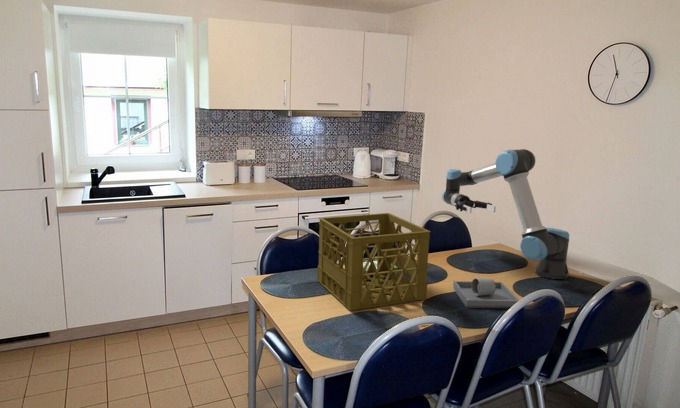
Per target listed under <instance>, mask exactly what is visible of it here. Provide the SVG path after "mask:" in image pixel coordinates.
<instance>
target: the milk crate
mask: <svg viewBox="0 0 680 408" xmlns="http://www.w3.org/2000/svg"><path fill="white" fill-rule="evenodd" d="M318 220H319V222H318V225H319V230H318V231H319V232H318V233H319V234H318V235H319V238H318V265H317V282H318V283H320V284H321V286H322V287H323V288H325V290H327V291H328V292H329V293H330V294H331V295H332V296H333V297H334V298H336V299H337V300H338V301H339V302H340V303H341V304H342V305H343V306H344V307H345V308H347V310H348V311H357V310H358V311H359V310H363V309H370V308H377V307H383V306H389V305H391V306H392V305H395V304H402V303H403V304H404V303H409V302H414V301H415V302H416V301H422V300H426V299H427V293H428V292H427V289H428V282H427V279H428V278H427V277H428V268H429V266H428V262H429V247H430V239H431V236H430V233H431V231H430V230H428V229H426V228H424V227H422V226H419V225H417V224H415V223H412V222H410V221H407V220H406V219H404V218H401V217H399V216H396V215H394V214H392V213H390V212H384V213H381V212H380V213H369V214H368V213H367V214H355V215H354V214H353V215H341V216H339V215H338V216H328V217H326V216H325V217H318ZM371 221H377V222H376V224H375V226H374V228H372V225H371V223H370V222H371ZM356 222H357V223H358V222H359V223H360V222H365V226H363V227H357V228H356V227H354V228H345V225H346V224H347V223H356ZM335 224H339V226H336V225H335ZM396 225H397V226H396ZM368 226H369V228H370V231H371V232H364V231H365V229H367V228H368ZM402 227H403V228H404V229H407V230H410V232H403V230H402ZM341 228H342V229H341ZM377 229H378V231H376V230H377ZM344 230H345V231H344ZM357 230H358V232H359V233H352V231H357ZM332 234H333V235H332ZM376 234H378V235H376ZM365 235H366V236H365ZM367 235H368V236H367ZM354 236H357V237H354ZM338 238H339V239H338ZM413 241H414V243H413ZM372 244H375V245H372ZM394 245H395V247H393V246H394ZM370 248H372V250H371V252H370V250H369V249H370ZM365 254H366V255H367V257H364V256H365ZM376 255H377V256H378V257H377V256H376ZM416 256H417V257H416ZM415 258H416V259H415ZM373 261H377V269H376V267H375V264H374V262H373ZM363 262H367V263H366V265H365V267H364V268H363ZM369 262H370V265H369V267H368V269H367V272H366V273H365V270H366V268H367V266H368V264H369ZM391 263H392V266H391ZM394 266H396V267H398V268H399V269H395V268H394ZM371 275H372V276H371ZM403 276H404V278H403ZM410 276H411V278H410ZM389 279H390V280H389ZM369 281H370V282H369ZM363 285H364V286H363ZM390 290H392V291H390ZM372 292H373V293H377V294H371V293H372ZM387 295H389V296H390V297H389V296H387Z"/></svg>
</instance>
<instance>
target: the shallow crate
mask: <svg viewBox="0 0 680 408" xmlns="http://www.w3.org/2000/svg"><path fill="white" fill-rule="evenodd" d="M472 281H473V280H471V281H470V280H469V281H467V280H464V281H463V280H453V284H452V288H453V290H454V291H455V293H456V294H457V296H458V297H459V299H460V300H461V302H462V303H463V304H464V306H465V307H466V308H471V309H472V308H473V309H474V308H475V309H477V308H478V309H479V308H481V309H482V308H483V309H510V308H509V307H511V306H512V305H513V304H515V303H516V302H517V301H519V300H520V299H519V298H518V297H517V296H516V295H515V294H514V293H513V291H511V290H510V289H509V287H508V286H506V285H505V284H504V283H503V282H502V281H494V282H495V285H496V290H495V292H494V294H492V295H485V296H475V295H474V294H473V292H472V287H471V284H472Z"/></svg>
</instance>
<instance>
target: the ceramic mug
mask: <svg viewBox="0 0 680 408" xmlns="http://www.w3.org/2000/svg"><path fill="white" fill-rule="evenodd" d="M471 281H472V284H471V287H472V292H473V294H474V295H475V296H485V295H492V294H494V292H495V290H496V285H495V282H496V281H494V279H493V278H490V277H487V278H486V277H475V278H473V279H472V280H471Z"/></svg>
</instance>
